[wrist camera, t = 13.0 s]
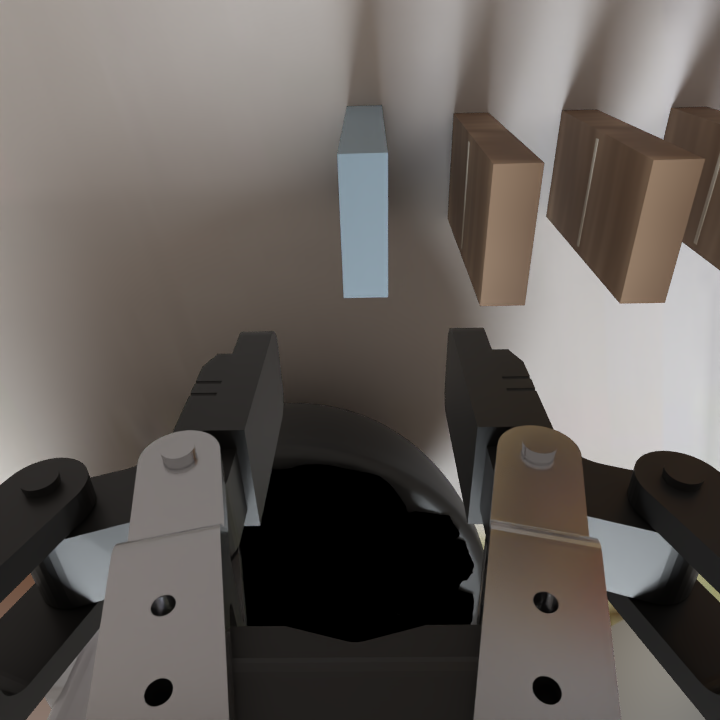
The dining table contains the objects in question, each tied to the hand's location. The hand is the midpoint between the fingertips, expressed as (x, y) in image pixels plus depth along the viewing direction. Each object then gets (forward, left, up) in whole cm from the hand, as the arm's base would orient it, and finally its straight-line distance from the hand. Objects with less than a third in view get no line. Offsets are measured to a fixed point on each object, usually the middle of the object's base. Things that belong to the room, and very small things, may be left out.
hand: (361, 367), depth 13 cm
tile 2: (+5, 0, -18) cm, 19 cm away
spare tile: (0, 0, -18) cm, 18 cm away
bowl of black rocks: (-4, -19, -18) cm, 27 cm away
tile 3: (+10, 0, -18) cm, 20 cm away
